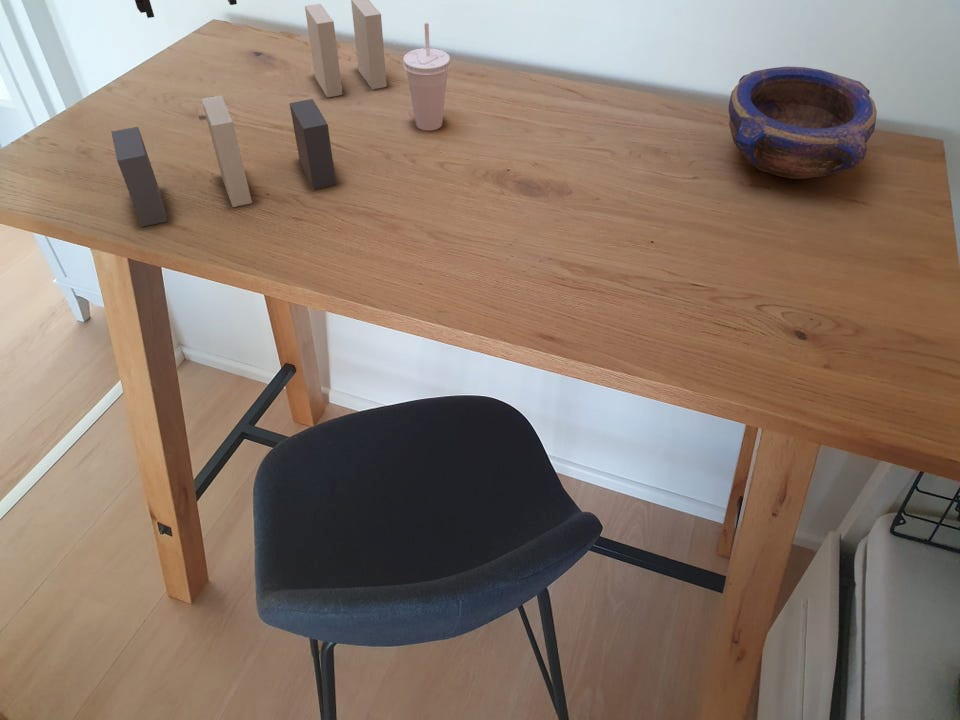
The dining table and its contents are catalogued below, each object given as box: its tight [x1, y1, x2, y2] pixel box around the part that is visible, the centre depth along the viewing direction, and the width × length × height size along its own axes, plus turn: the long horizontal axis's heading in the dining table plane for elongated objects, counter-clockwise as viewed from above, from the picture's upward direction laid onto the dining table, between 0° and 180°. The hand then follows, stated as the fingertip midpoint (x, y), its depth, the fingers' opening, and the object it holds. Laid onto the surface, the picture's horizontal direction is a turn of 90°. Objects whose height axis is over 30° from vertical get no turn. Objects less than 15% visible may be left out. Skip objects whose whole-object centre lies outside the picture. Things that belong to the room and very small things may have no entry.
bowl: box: [728, 66, 878, 180], centre depth 100 cm, size 18×18×10 cm
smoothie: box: [402, 22, 451, 132], centre depth 105 cm, size 6×6×14 cm
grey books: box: [111, 98, 337, 228], centre depth 94 cm, size 24×7×9 cm, turn 113°
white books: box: [304, 0, 388, 98], centre depth 115 cm, size 9×7×11 cm
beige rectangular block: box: [201, 95, 253, 208], centre depth 93 cm, size 2×7×11 cm, turn 23°
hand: (191, 8), depth 81 cm, fingers open, 8 cm apart
